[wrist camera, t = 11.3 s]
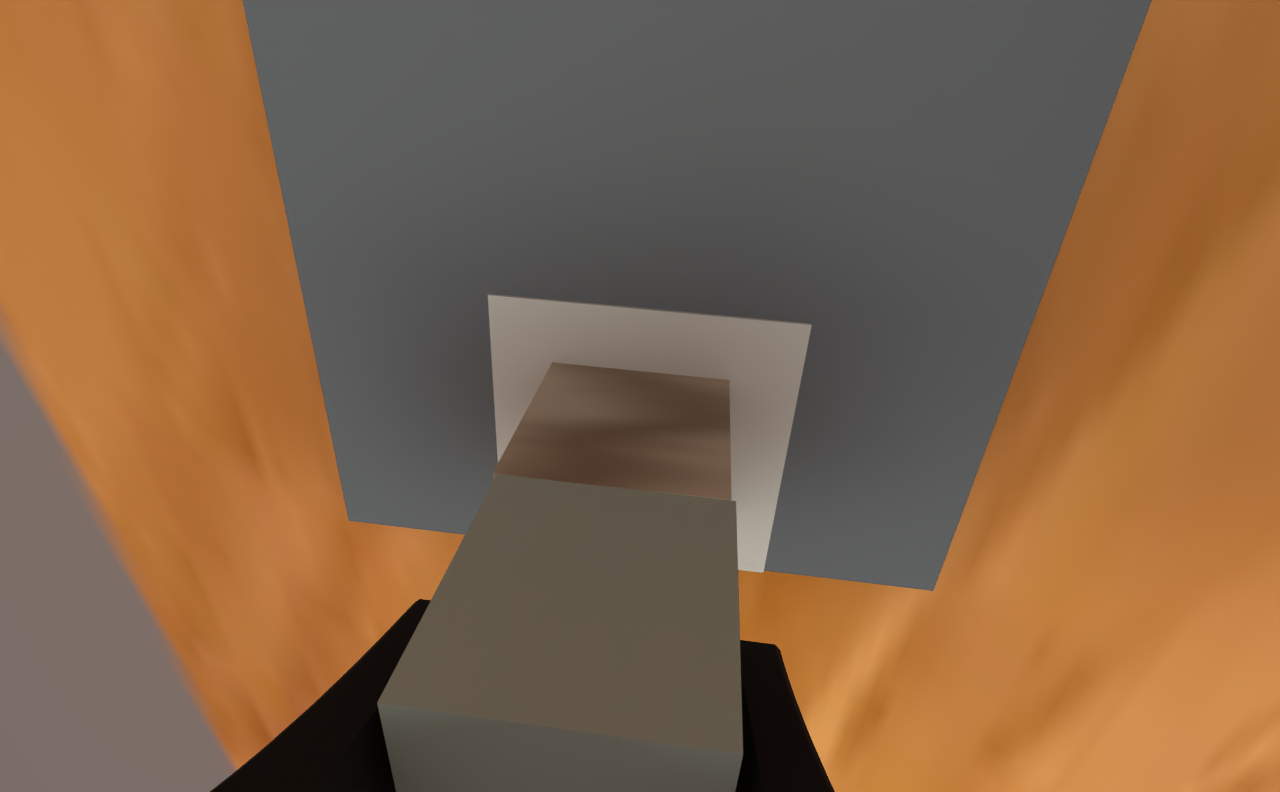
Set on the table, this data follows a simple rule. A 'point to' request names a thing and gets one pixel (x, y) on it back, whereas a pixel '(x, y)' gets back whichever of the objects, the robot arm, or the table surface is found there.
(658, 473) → the walnut block
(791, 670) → the table surface
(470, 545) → the sage block
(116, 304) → the table surface
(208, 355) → the table surface
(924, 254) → the board
